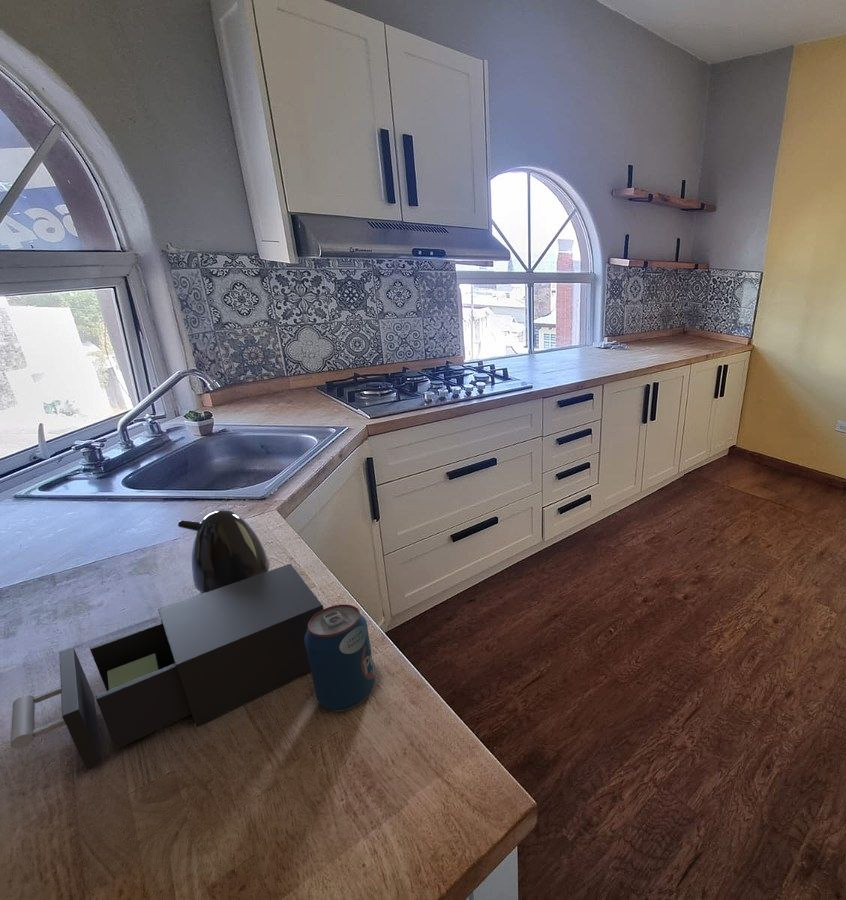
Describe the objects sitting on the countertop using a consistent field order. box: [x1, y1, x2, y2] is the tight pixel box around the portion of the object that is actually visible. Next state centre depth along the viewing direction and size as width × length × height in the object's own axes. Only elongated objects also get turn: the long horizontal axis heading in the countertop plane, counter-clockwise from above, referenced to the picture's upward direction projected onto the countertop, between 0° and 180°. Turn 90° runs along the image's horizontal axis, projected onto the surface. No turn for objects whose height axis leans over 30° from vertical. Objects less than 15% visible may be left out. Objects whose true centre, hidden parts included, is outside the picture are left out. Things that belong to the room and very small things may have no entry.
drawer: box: [10, 620, 192, 771], centre depth 60 cm, size 19×12×8 cm, turn 136°
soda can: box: [304, 603, 376, 712], centre depth 63 cm, size 7×7×12 cm
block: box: [107, 653, 161, 690], centre depth 60 cm, size 4×4×4 cm
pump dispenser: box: [177, 509, 271, 594], centre depth 81 cm, size 10×10×15 cm
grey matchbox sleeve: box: [157, 563, 325, 728], centre depth 68 cm, size 16×14×10 cm
